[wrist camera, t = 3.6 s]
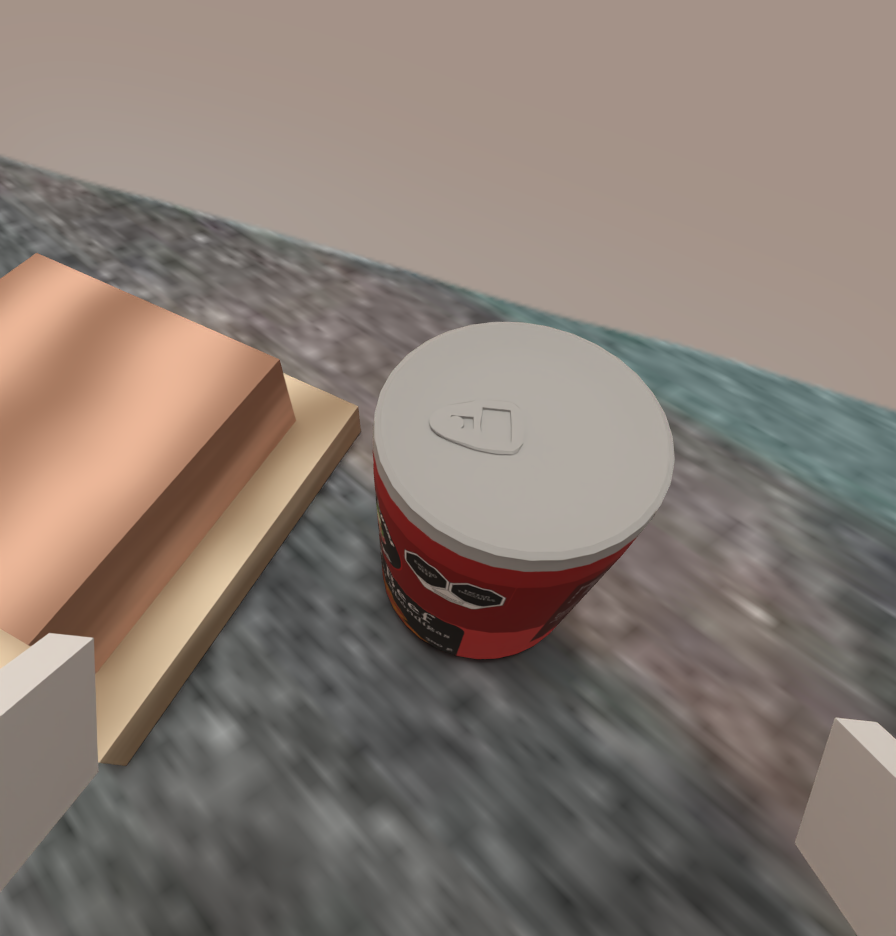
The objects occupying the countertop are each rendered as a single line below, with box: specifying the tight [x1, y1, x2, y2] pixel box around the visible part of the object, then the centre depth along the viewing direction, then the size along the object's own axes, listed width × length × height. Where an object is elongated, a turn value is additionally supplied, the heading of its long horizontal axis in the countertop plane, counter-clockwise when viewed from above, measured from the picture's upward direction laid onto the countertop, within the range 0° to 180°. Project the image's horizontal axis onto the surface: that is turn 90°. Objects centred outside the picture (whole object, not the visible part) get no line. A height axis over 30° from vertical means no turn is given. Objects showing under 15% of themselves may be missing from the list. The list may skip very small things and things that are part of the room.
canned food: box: [373, 322, 675, 659], centre depth 19 cm, size 8×8×11 cm
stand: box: [0, 253, 361, 766], centre depth 22 cm, size 16×16×6 cm
